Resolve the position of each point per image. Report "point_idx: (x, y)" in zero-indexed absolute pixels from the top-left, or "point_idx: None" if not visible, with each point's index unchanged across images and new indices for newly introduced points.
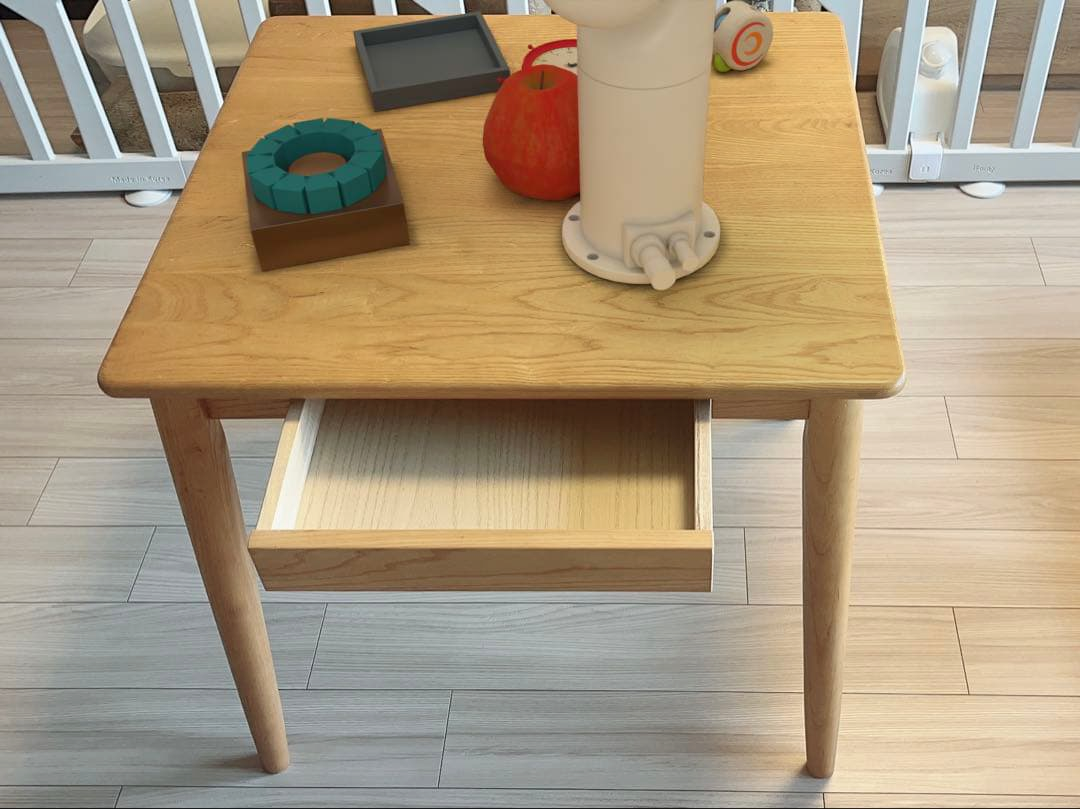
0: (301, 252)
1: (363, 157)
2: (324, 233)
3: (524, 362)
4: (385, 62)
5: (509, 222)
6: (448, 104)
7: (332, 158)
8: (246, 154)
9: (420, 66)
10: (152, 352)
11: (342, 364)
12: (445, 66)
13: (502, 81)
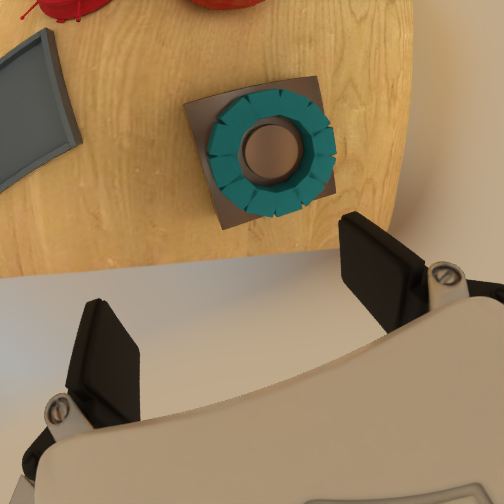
0: None
1: (291, 106)
2: None
3: (403, 34)
4: (12, 159)
5: (275, 8)
6: (71, 77)
7: (257, 140)
8: (228, 224)
9: (16, 123)
10: None
11: (398, 124)
12: (17, 99)
13: (79, 17)
